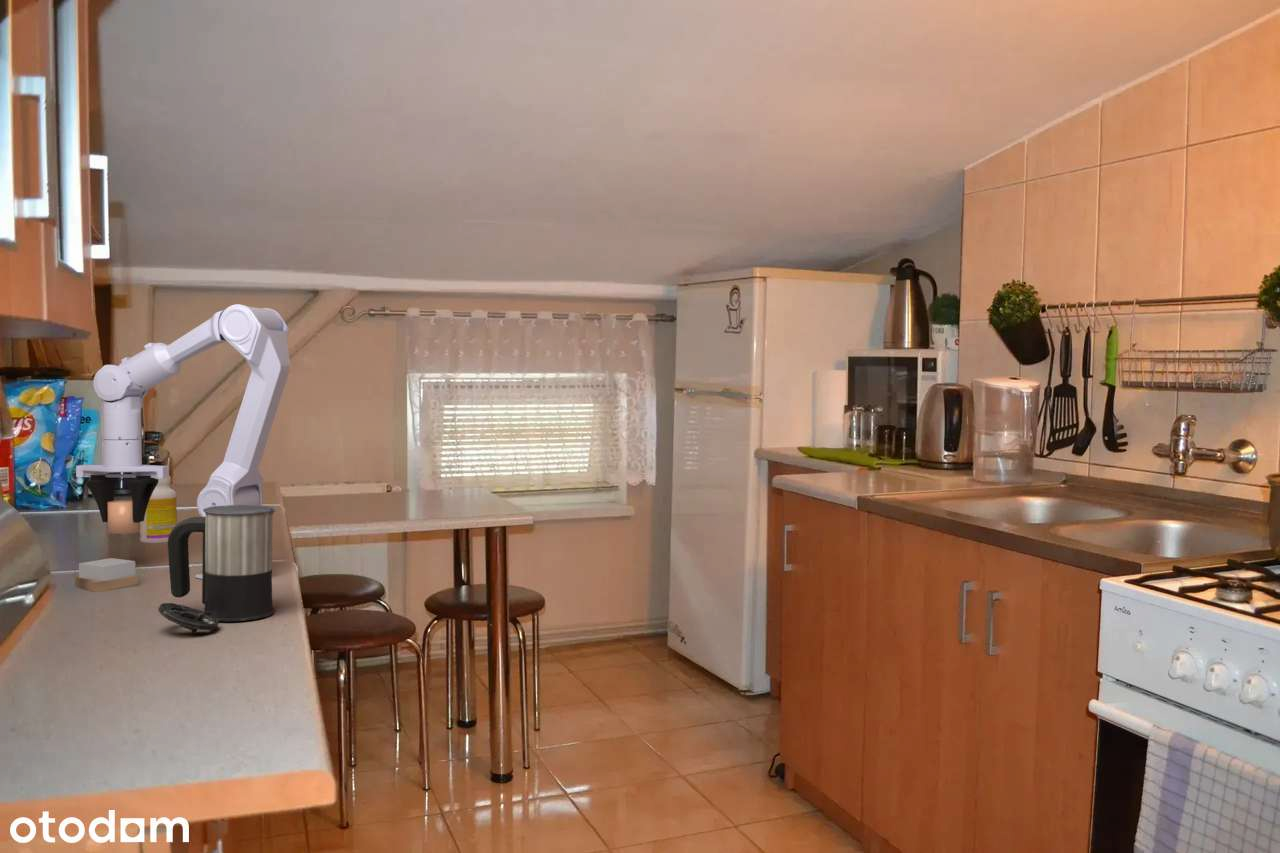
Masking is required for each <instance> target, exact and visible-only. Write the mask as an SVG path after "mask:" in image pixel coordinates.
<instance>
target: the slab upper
mask: <svg viewBox="0 0 1280 853" xmlns="http://www.w3.org/2000/svg"><path fill="white" fill-rule="evenodd" d="M133 575H136V561H135V560H129V559H123V558H122V559H120V558H113V557H109V558H104V559H103V558H101V559H98V560H92V561H86V562H80V563H78V576H79V578H84V579H91V580H99V581H108V580H112V579H118V578H123V577H128V576H133Z"/></svg>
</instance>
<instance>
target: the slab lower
mask: <svg viewBox="0 0 1280 853" xmlns="http://www.w3.org/2000/svg"><path fill="white" fill-rule="evenodd" d="M138 586H139V575H136V574H135V575H133V576H128V577H123V578H118V579H112V580H108V581H99V580H91V579H84V578H79V575H78V576H74V587H75V588H76V589H80V590H84V591H87V592H92V593H94V594H95V593H102V592H107V591H108V592H109V591H115V590H120V589H121V590H122V589H128V588H133V587H138Z"/></svg>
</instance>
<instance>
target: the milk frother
mask: <svg viewBox="0 0 1280 853" xmlns="http://www.w3.org/2000/svg"><path fill="white" fill-rule="evenodd" d="M203 512H205V514H206V517H201V516H193V517H189V518H187V519H184V520H182V521H180V522H177V525H176V526H175V527H174V528H173V529H172V531H171V532H170V535H169V537H168V542H167V552H168V554H167V557H168V569H169V571H168V572H169V580H170V593H171V595H172V596H173V597H175V598H184V597H186V596H187V595H188V594H189V593H190V591H191V580H190V579H191V576H190V560H189V558H190V557H189V556H190V555H189V539H190V535H191V534H193V533H202V560H201V561H202V569H201V571H202V573H201V574H202V577H203V579H201V580H202V581H201V583H202V584H201V593H202V594H201V602H202V604H203V605H204V609H203V610H199V609H196V608H193V607H189V606H186V605H182V604H177V603H173V602H166V603H165V602H164V603H160V605H159V607H158V612H159V614H160V615H161V616H163V617H164V618H165V619H166V620H168V621H170V622H172V623H174V624H176V625H179V626H181V627H182V628H185V629H187V630H190V631H191V633H192V634H195V633H197V631H198V630H200V631H212V630H213V631H214V630H216V629H217V628H218V626H219V623H220V622H241V621H242V622H244V621H253V620H259V619H260V620H261V619H263V618H266V617H270V616H271V615H274V613H275V609H274V606H273V573H272V572H273V569H272V568H273V516H274V513H275V512H276V508H275V506H270V505H263V504H262V505H222V506H213V507H211V506H210V507H208V508H204V509H203Z"/></svg>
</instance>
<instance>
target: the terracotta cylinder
mask: <svg viewBox="0 0 1280 853" xmlns="http://www.w3.org/2000/svg"><path fill="white" fill-rule="evenodd" d="M135 533H140V523H139V522H137V523H135V522H133V503H132V499H118V500H114V501H109V502H108V522H107V534H110V535H123V534H124V535H125V534H126V535H127V534H135Z"/></svg>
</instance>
